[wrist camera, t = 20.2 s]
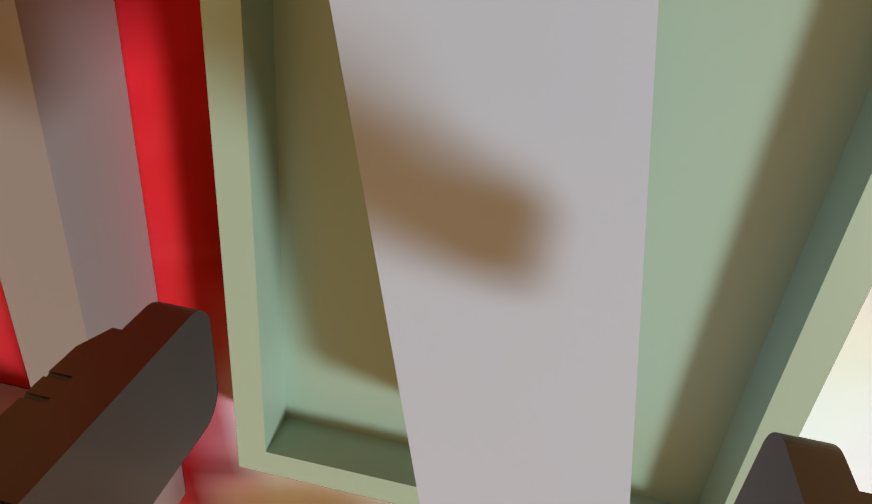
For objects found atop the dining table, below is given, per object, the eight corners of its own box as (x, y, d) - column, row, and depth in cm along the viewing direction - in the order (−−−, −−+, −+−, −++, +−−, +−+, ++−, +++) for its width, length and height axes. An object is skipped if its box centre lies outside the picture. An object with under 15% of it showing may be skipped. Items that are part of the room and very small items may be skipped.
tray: (231, -369, 14) (164, -416, 12) (1084, -326, 12) (1193, -375, 9) (270, 416, 25) (239, 466, 23) (714, 516, 22) (727, 582, 20)
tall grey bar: (337, -600, 11) (169, -889, 6) (667, -700, 9) (723, -1129, 5) (460, 414, 22) (428, 551, 17) (619, 425, 20) (625, 574, 16)
